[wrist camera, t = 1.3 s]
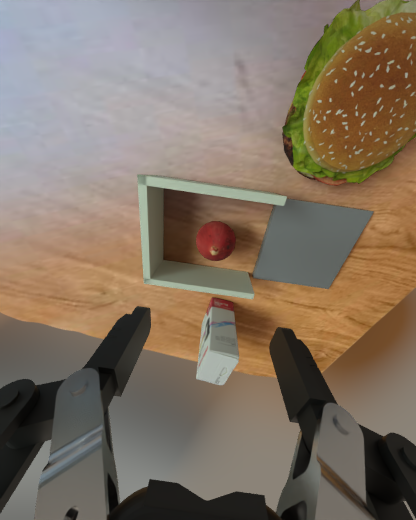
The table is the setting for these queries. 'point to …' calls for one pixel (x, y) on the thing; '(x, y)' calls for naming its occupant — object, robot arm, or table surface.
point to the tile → (308, 242)
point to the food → (355, 95)
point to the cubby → (186, 273)
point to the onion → (215, 240)
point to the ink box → (218, 343)
